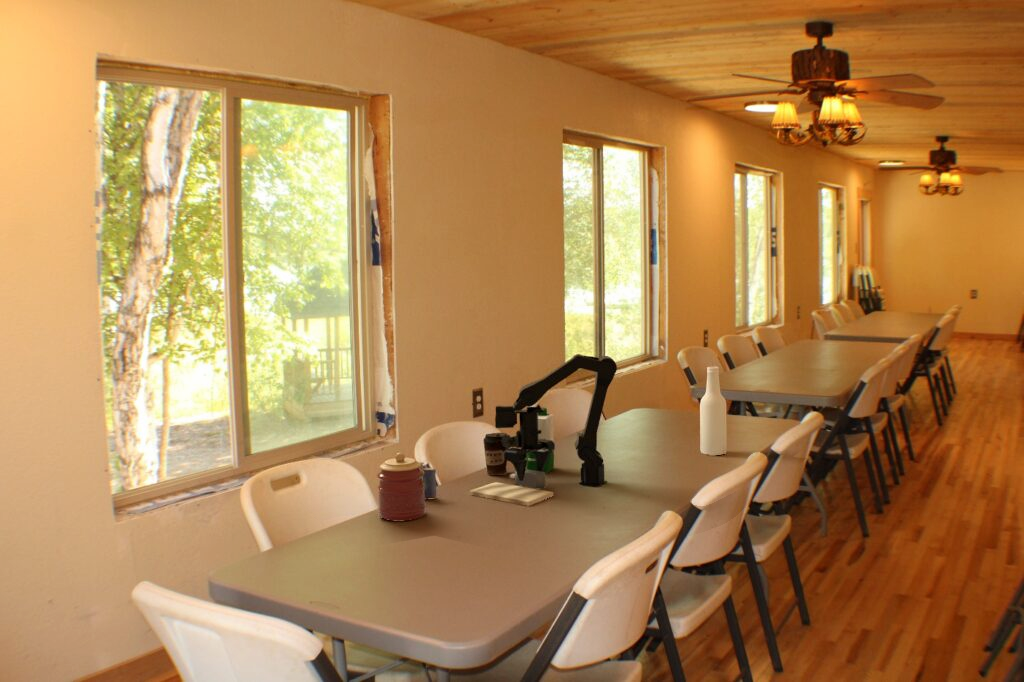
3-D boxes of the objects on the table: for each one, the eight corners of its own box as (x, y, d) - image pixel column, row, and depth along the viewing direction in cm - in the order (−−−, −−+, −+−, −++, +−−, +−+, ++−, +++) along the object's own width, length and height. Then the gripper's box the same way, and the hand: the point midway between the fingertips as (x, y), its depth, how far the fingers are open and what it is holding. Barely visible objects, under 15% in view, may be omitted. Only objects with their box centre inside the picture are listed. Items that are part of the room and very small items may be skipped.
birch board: (553, 496, 274) (553, 492, 274) (528, 506, 264) (528, 501, 264) (495, 485, 287) (495, 482, 287) (469, 494, 278) (469, 490, 278)
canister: (388, 525, 250) (385, 460, 248) (372, 513, 262) (369, 451, 260) (433, 517, 256) (430, 454, 254) (415, 506, 268) (413, 445, 266)
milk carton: (557, 467, 308) (555, 407, 306) (547, 474, 299) (546, 412, 297) (532, 466, 311) (530, 406, 309) (522, 472, 303) (520, 411, 301)
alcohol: (730, 452, 322) (729, 366, 319) (721, 457, 315) (720, 369, 312) (705, 449, 327) (705, 364, 324) (696, 455, 320) (695, 368, 317)
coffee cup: (507, 477, 297) (505, 437, 296) (481, 476, 299) (480, 436, 297) (512, 470, 306) (511, 431, 304) (487, 470, 307) (486, 431, 306)
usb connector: (547, 486, 284) (547, 472, 284) (540, 489, 282) (540, 475, 281) (515, 481, 292) (514, 467, 292) (508, 483, 290) (507, 469, 289)
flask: (438, 497, 276) (436, 462, 275) (433, 500, 273) (432, 464, 272) (410, 495, 279) (408, 460, 278) (405, 498, 277) (403, 462, 276)
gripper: (526, 419, 297) (527, 467, 298) (489, 429, 282) (490, 480, 284) (555, 422, 290) (556, 472, 291) (518, 433, 275) (519, 485, 277)
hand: (530, 477), depth 286 cm, fingers open, 9 cm apart
